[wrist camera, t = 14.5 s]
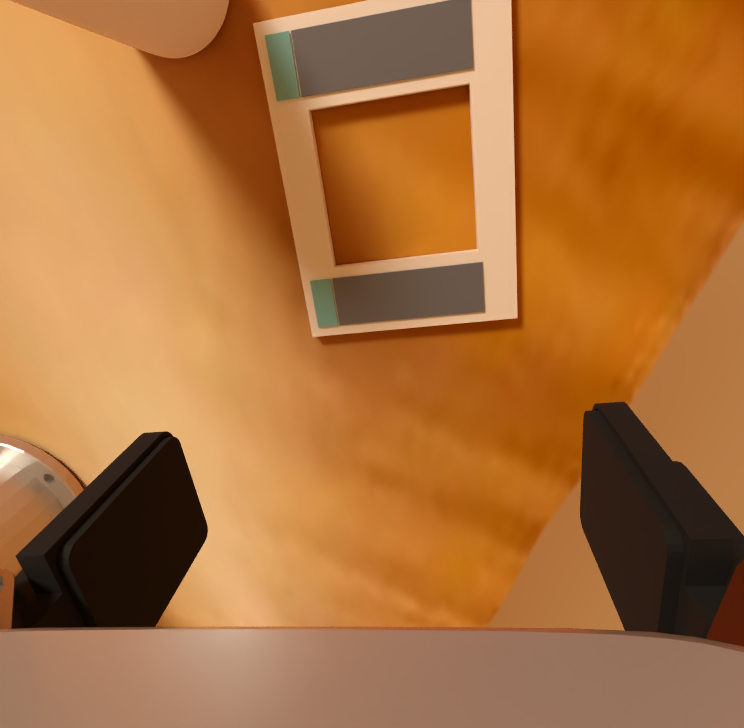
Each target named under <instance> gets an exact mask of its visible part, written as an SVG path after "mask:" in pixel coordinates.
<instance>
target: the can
mask: <svg viewBox="0 0 744 728" xmlns="http://www.w3.org/2000/svg"><path fill="white" fill-rule="evenodd" d="M11 1H13V2H16V3H18V4H21V5H23V6H26V7H28V8H31V9H34V10H36V11H39V12H41V13H44V14H47V15H49V16H52V17H54V18H57V19H60V20H62V21H65V22H67V23H70V24H73V25H75V26H78V27H81V28H83V29H86V30H88V31H91V32H94V33H96V34H99V35H102V36H104V37H107V38H110V39H112V40H115V41H118V42H120V43H123V44H126V45H128V46H131V47H134V48H136V49H139V50H142V51H145V52H147V53H150V54H153V55H156V56H160V57H165V58H184V57H188V56H191V55H193V54H195V53H197V52H199V51H201V50H202V49H204V48H205V47H206V46H207V45H208V44H209V43H210V42H211V41H212V40H213V39H214V38H215V36H216V35H217V33H218V32H219V30H220V28H221V26H222V24H223V22H224V19H225V16H226V13H227V9H228V4H229V0H11Z"/></svg>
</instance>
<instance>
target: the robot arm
mask: <svg viewBox="0 0 744 728" xmlns="http://www.w3.org/2000/svg"><path fill="white" fill-rule="evenodd" d="M580 518H581V524H582V528H583V530H584V533H585V536H586V538H587V540H588V543H589V545H590V547H591V550H592V552H593V555H594V557H595V560H596V562H597V564H598V567H599V569H600V572H601V574H602V576H603V579H604V581H605V583H606V586H607V588H608V591H609V593H610V596H611V598H612V600H613V603H614V605H615V607H616V610H617V612H618V615H619V617H620V619H621V622H622V624H623V627H624V629H625V631H619V630H594V629H573V628H473V627H155V626H156V624H157V623H158V621H159V619H160V618H161V616H162V614H163V612H164V611H165V609H166V607H167V606H168V604H169V602H170V600H171V599H172V597H173V595H174V594H175V592H176V590H177V588H178V587H179V585H180V583H181V582H182V580H183V578H184V576H185V575H186V573H187V571H188V570H189V568H190V566H191V564H192V563H193V561H194V559H195V558H196V556H197V554H198V552H199V551H200V549H201V547H202V546H203V544H204V542H205V540H206V537H207V532H208V528H207V523H206V520H205V517H204V514H203V511H202V508H201V505H200V502H199V498H198V495H197V492H196V489H195V486H194V483H193V480H192V477H191V474H190V471H189V468H188V465H187V462H186V459H185V456H184V453H183V450H182V447H181V444H180V442H179V440H178V439H177V438H176V437H173V436H172V434H171V433H169V432H152V433H143V434H142V435H140V436H139V437H138V438H137V439H136V440H135V441H134V442H133V443H132V444H131V445H130V446H129V447H128V448H127V449H126V450H125V451H124V452H123V453H122V454H121V455H119V456H118V457H117V458H116V459H115V460H114V461H113V462H112V463H111V464H110V465H109V466H108V467H107V468H106V469H105V470H104V471H103V472H102V473H101V474H100V475H99V476H98V477H97V478H96V479H95V480H94V481H92V482H91V483H90V484H89V485H88V486H87V487H86V488H85V489H83V488H82V486H81V485H80V483H79V482H78V480H77V479H76V478H75V477H74V476H73V475H72V474H71V473H70V471H69V470H68V469H67V468H65V467H64V466H63V465H62V464H61V463H60V462H58V461H57V460H56V459H55V458H53V457H52V456H50V455H49V454H47V453H46V452H44V451H43V450H41V449H39V448H37V447H35V446H33V445H31V444H29V443H26V442H24V441H21V440H18V439H14V438H11V437H8V436H1V435H0V728H744V536H743V534H742V533H741V532H740V531H739V530H738V528H737V527H736V526H735V525H734V524H733V523H732V521H731V520H730V519H729V518H728V517H727V515H726V514H725V513H724V512H723V511H722V509H721V508H720V507H719V506H718V505H717V503H716V502H715V501H714V500H713V499H712V497H711V496H710V495H709V494H708V493H707V491H706V490H705V489H704V488H703V487H702V486H701V484H700V483H699V482H698V481H697V479H696V478H695V477H694V476H693V475H692V473H691V472H690V471H689V470H688V469H687V467H686V466H684V465H683V464H682V463H681V462H677V461H672V460H671V459H670V457H669V456H668V455H667V454H666V452H665V451H664V450H663V449H662V447H661V446H660V445H659V444H658V442H657V441H656V440H655V439H654V438H653V436H652V435H651V434H650V433H649V431H648V430H647V429H646V428H645V426H644V425H643V424H642V423H641V421H640V420H639V419H638V418H637V416H636V415H635V414H634V413H633V411H632V410H631V409H630V408H629V407H628V405H627V404H626V403H625V402H614V403H598V404H595V405H594V406H593V410H592V411H585V413H584V421H583V448H582V474H581V501H580Z"/></svg>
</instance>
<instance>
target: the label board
mask: <svg viewBox="0 0 744 728" xmlns="http://www.w3.org/2000/svg"><path fill="white" fill-rule="evenodd" d="M253 27H254V33H255V38H256V43H257V48H258V54H259V59H260V64H261V69H262V75H263V80H264V85H265V90H266V96H267V101H268V106H269V111H270V117H271V122H272V127H273V132H274V138H275V143H276V148H277V153H278V159H279V164H280V169H281V174H282V180H283V185H284V190H285V195H286V201H287V206H288V211H289V216H290V222H291V227H292V232H293V237H294V242H295V248H296V253H297V258H298V263H299V269H300V274H301V279H302V284H303V290H304V295H305V300H306V305H307V311H308V316H309V321H310V326H311V332H312V337H318V336H329V335H340V334H351V333H361V332H372V331H383V330H394V329H405V328H416V327H426V326H437V325H448V324H459V323H470V322H481V321H491V320H502V319H513V318H518V317H517V266H516V215H515V164H514V113H513V61H512V10H511V0H368V1H363V2H358V3H353V4H348V5H343V6H338V7H332V8H327V9H322V10H317V11H312V12H307V13H302V14H297V15H292V16H287V17H282V18H277V19H271V20H266V21H261V22H256V23H253ZM465 85H469V99H470V119H471V139H472V159H473V179H474V199H475V219H476V239H477V249H475V250H466V251H457V252H448V253H440V254H431V255H422V256H414V257H405V258H396V259H387V260H379V261H370V262H361V263H352V264H344V265H336V263H335V257H334V250H333V244H332V238H331V232H330V226H329V219H328V213H327V207H326V201H325V195H324V189H323V182H322V176H321V170H320V164H319V158H318V151H317V145H316V139H315V133H314V127H313V120H312V114H311V111H313V110H319V109H325V108H331V107H338V106H344V105H350V104H356V103H362V102H368V101H374V100H380V99H386V98H392V97H398V96H404V95H410V94H416V93H422V92H428V91H435V90H441V89H447V88H453V87H459V86H465Z"/></svg>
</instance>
